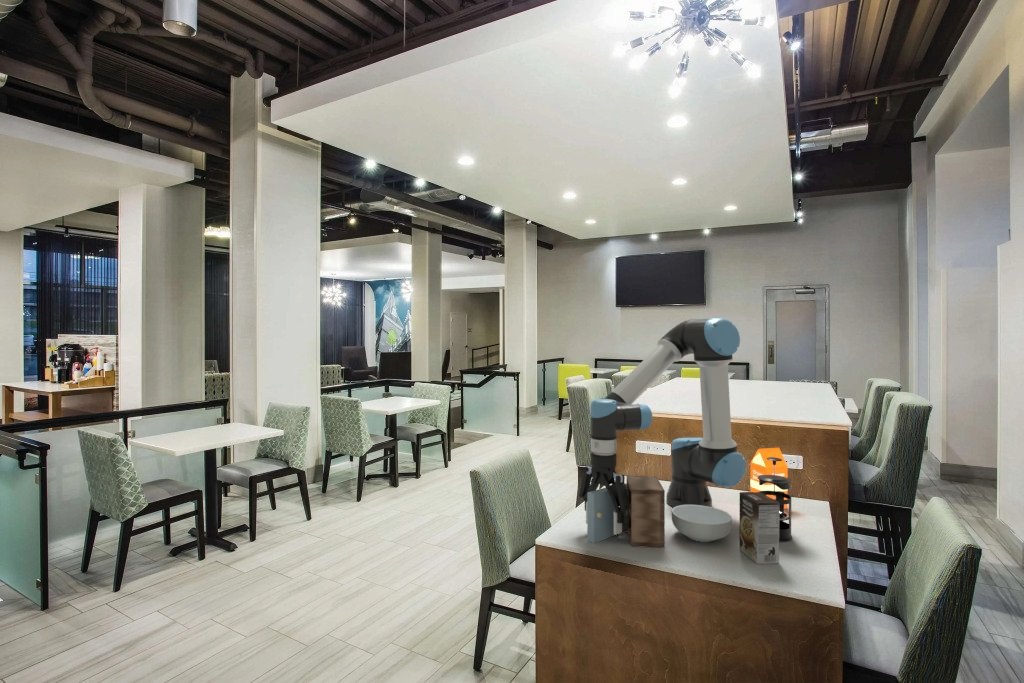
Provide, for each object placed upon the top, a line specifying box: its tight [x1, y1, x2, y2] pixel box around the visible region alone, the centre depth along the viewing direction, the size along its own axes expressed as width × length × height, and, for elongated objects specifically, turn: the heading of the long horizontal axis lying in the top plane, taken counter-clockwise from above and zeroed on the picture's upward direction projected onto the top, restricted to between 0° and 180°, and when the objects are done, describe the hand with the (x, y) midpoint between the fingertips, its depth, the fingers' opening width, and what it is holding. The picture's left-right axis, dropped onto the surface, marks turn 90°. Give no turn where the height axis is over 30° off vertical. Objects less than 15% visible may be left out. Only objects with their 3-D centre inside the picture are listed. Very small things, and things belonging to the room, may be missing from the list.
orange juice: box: [749, 447, 789, 509], centre depth 178 cm, size 8×9×20 cm
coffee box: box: [738, 491, 780, 565], centre depth 137 cm, size 9×6×16 cm
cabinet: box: [622, 475, 666, 548], centre depth 152 cm, size 12×16×16 cm
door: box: [586, 487, 616, 544], centre depth 150 cm, size 11×4×14 cm, turn 128°
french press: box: [758, 457, 793, 543], centre depth 152 cm, size 12×9×23 cm
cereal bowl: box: [671, 505, 733, 543], centre depth 151 cm, size 17×17×7 cm
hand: (603, 527), depth 151 cm, fingers open, 10 cm apart
